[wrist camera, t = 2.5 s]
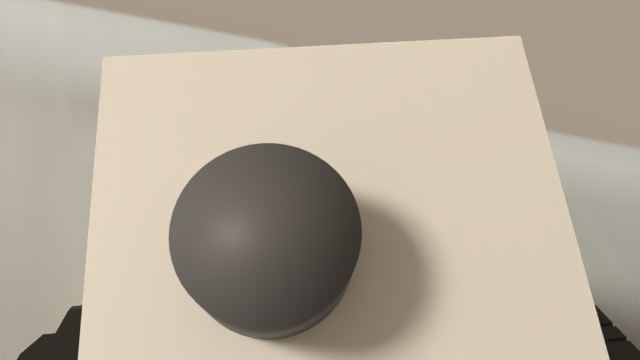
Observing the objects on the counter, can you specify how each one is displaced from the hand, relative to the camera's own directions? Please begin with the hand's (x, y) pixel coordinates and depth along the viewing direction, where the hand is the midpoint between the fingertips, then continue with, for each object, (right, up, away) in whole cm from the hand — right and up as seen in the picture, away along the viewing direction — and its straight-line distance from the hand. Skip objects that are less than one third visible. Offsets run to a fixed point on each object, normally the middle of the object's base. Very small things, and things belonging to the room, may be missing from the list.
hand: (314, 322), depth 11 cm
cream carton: (0, -3, +7) cm, 8 cm away
